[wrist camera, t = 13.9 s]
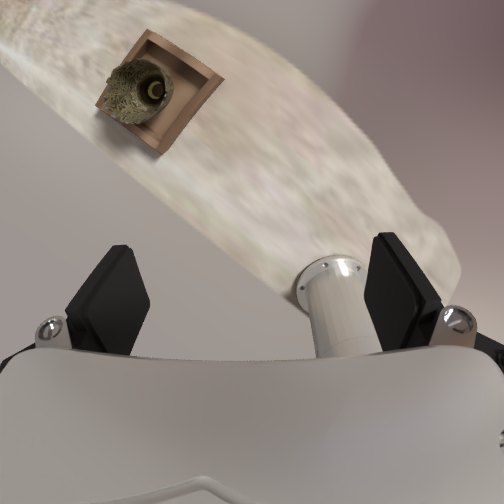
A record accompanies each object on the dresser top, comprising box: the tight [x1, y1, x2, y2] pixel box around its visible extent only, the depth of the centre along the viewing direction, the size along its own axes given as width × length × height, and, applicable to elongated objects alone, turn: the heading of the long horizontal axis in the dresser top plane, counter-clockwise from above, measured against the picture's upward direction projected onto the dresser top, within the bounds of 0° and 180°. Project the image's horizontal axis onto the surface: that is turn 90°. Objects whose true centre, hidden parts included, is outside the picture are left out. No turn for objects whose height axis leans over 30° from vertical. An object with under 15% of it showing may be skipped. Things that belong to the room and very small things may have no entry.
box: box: [95, 29, 224, 154], centre depth 30 cm, size 12×12×3 cm
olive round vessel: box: [104, 58, 174, 124], centre depth 27 cm, size 8×7×8 cm
